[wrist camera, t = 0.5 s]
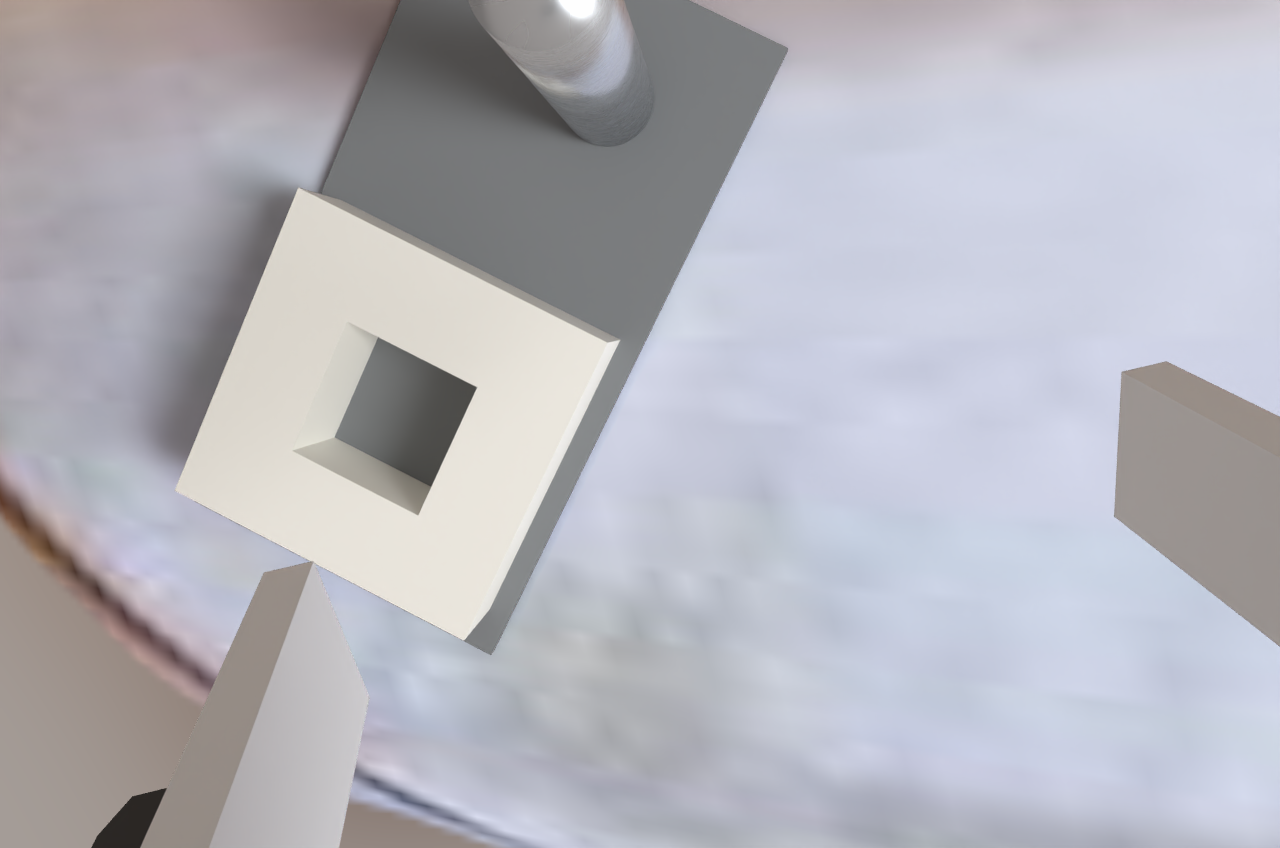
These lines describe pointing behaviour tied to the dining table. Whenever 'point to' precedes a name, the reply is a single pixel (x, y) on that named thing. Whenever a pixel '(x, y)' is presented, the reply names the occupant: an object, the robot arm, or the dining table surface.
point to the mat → (536, 210)
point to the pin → (577, 61)
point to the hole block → (326, 380)
